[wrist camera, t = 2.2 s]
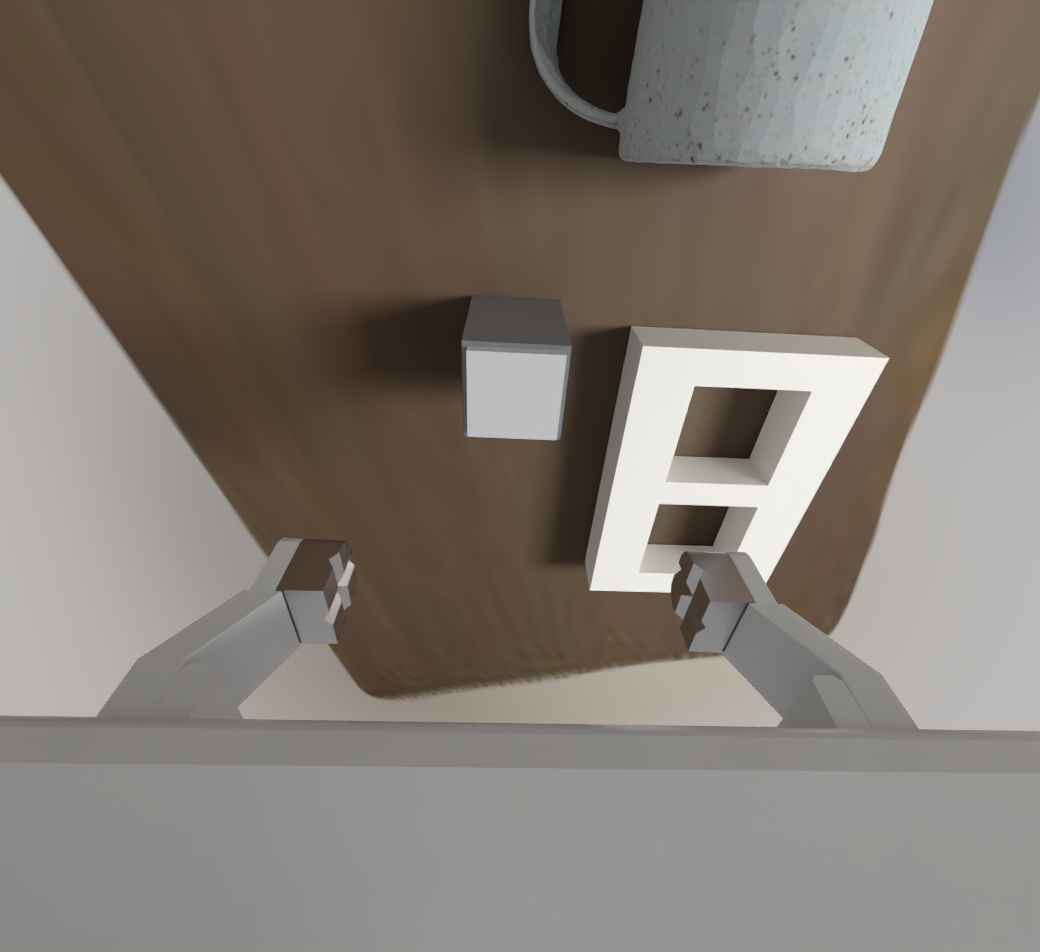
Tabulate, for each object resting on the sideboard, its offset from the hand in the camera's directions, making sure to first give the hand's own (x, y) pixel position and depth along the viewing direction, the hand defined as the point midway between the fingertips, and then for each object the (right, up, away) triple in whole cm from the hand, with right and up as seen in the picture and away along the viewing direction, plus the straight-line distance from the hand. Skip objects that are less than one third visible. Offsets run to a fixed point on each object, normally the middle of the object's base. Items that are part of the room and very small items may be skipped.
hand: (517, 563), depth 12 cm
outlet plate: (+10, +3, +16) cm, 19 cm away
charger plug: (0, +9, +11) cm, 14 cm away
